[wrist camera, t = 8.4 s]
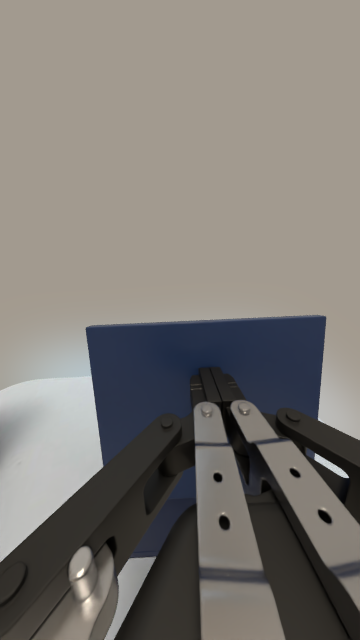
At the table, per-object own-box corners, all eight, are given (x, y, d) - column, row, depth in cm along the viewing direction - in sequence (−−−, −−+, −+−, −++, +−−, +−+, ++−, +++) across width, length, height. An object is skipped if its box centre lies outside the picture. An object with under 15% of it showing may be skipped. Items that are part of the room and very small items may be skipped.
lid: (90, 325, 12) (85, 327, 12) (317, 314, 13) (327, 316, 12) (111, 492, 15) (107, 503, 14) (304, 480, 15) (312, 491, 14)
